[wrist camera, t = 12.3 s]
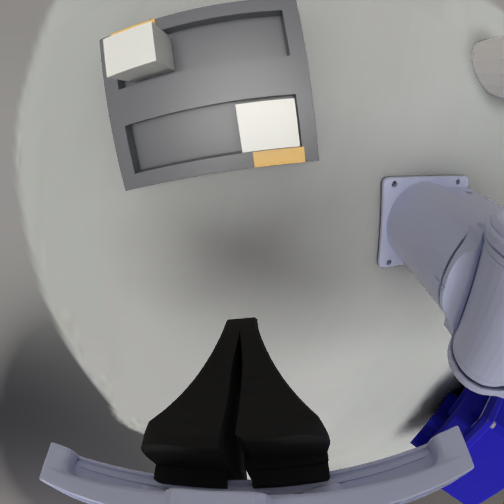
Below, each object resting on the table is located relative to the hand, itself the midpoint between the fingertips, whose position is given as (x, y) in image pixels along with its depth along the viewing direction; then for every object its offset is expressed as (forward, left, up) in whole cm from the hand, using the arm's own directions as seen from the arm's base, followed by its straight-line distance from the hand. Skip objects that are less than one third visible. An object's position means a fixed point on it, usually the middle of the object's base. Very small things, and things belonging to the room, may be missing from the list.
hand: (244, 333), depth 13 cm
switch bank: (+1, -12, -10) cm, 16 cm away
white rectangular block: (+4, -15, -9) cm, 18 cm away
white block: (-2, -9, -9) cm, 13 cm away
